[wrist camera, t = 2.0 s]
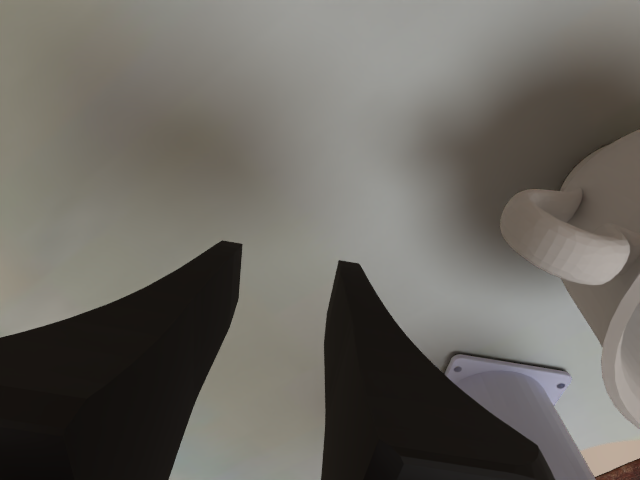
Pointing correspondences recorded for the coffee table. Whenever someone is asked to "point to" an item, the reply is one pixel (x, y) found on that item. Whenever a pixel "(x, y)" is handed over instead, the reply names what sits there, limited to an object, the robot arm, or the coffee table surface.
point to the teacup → (593, 254)
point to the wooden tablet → (623, 472)
